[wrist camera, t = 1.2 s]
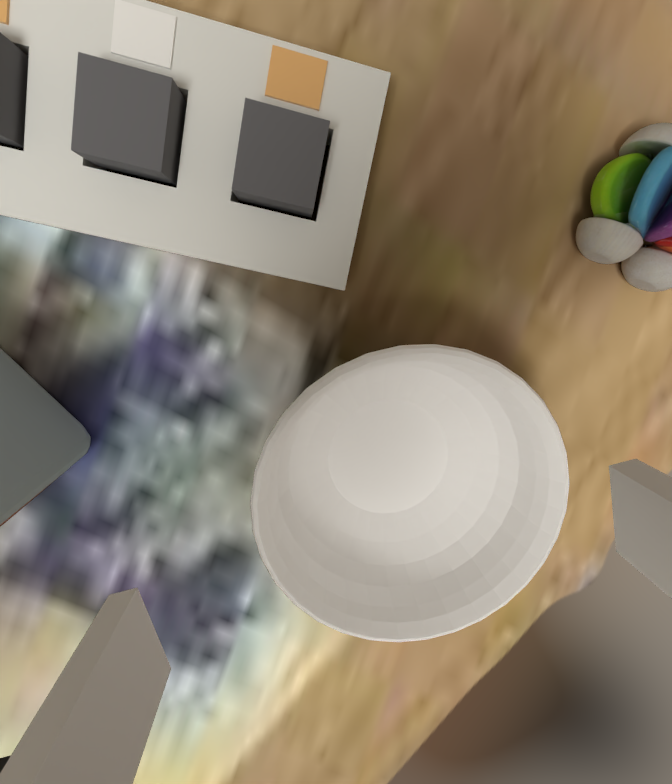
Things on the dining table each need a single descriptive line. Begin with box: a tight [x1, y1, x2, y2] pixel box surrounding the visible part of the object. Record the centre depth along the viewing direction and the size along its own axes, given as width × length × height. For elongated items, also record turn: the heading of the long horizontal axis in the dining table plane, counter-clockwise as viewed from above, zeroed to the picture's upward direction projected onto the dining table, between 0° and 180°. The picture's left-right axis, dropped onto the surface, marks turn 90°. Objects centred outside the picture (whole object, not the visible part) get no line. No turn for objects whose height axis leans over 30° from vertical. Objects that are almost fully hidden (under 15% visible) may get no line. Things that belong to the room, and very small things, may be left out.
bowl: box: [250, 344, 569, 642], centre depth 29 cm, size 19×19×8 cm
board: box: [0, 0, 391, 291], centre depth 25 cm, size 26×12×3 cm, turn 78°
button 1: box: [232, 98, 330, 218], centre depth 24 cm, size 4×4×3 cm
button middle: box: [71, 52, 187, 185], centre depth 23 cm, size 4×4×3 cm
